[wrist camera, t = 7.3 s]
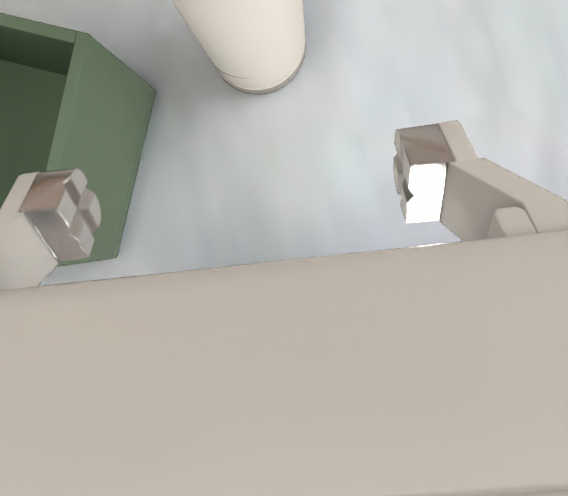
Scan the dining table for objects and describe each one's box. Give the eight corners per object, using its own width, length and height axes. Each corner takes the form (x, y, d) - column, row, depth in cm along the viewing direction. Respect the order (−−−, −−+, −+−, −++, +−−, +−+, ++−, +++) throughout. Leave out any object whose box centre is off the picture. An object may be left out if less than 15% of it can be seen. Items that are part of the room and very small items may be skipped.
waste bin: (156, 90, 33) (88, 33, 23) (117, 258, 34) (35, 270, 24) (-5, 51, 34) (-137, -21, 24) (-41, 216, 35) (-182, 211, 25)
